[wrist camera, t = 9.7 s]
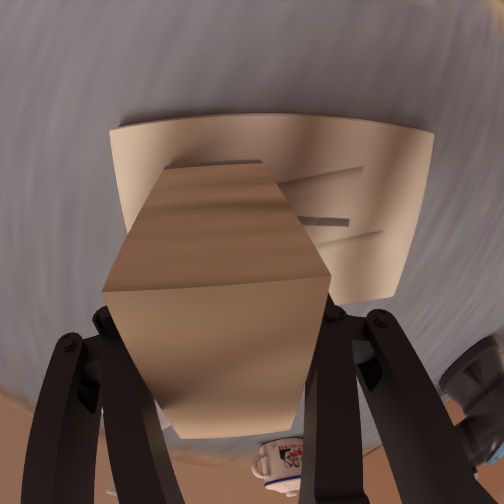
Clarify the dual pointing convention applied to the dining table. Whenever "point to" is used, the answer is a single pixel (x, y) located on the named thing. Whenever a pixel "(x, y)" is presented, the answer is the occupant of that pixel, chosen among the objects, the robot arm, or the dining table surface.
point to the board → (303, 181)
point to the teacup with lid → (281, 465)
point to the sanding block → (219, 299)
